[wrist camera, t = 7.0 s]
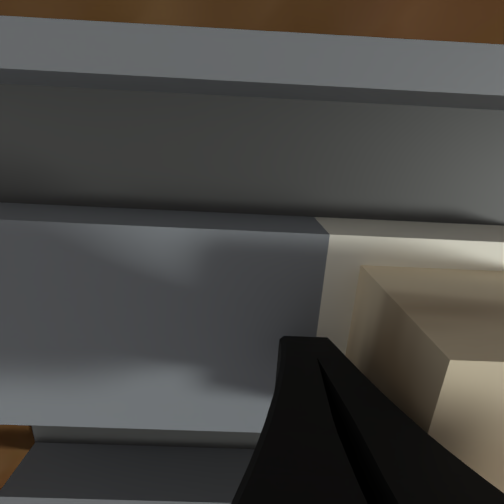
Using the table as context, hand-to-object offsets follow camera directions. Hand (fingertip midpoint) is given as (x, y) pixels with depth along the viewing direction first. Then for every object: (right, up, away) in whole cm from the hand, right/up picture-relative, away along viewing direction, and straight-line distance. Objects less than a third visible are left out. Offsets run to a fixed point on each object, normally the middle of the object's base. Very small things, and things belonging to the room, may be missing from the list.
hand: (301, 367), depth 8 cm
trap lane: (-1, +1, +3) cm, 4 cm away
